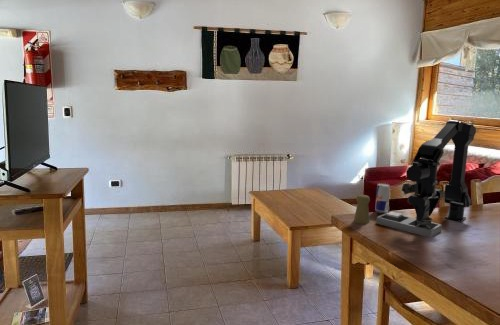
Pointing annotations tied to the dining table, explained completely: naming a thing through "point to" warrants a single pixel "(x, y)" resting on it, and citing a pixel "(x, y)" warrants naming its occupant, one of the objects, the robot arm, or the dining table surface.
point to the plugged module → (394, 216)
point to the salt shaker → (425, 219)
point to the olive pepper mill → (362, 209)
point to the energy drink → (382, 198)
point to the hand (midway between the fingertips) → (423, 218)
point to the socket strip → (409, 225)
